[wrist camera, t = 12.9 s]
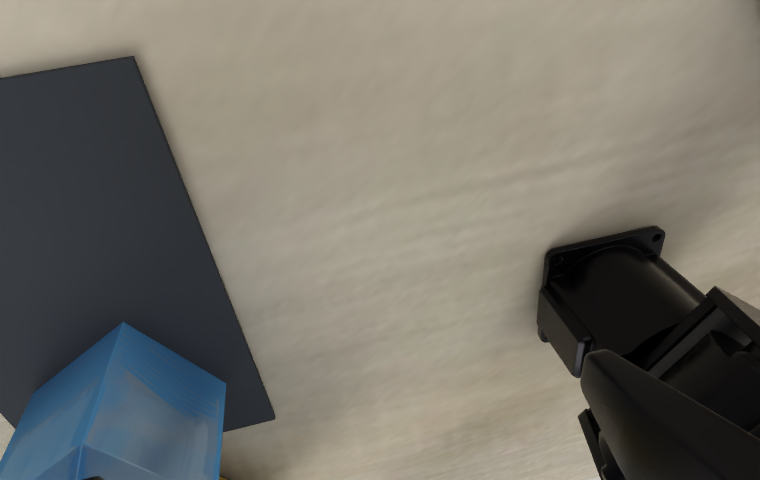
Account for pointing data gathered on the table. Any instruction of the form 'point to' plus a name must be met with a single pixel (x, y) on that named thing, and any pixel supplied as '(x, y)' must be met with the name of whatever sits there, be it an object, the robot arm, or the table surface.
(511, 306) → the table surface
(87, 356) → the perfume bottle
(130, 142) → the desk mat
